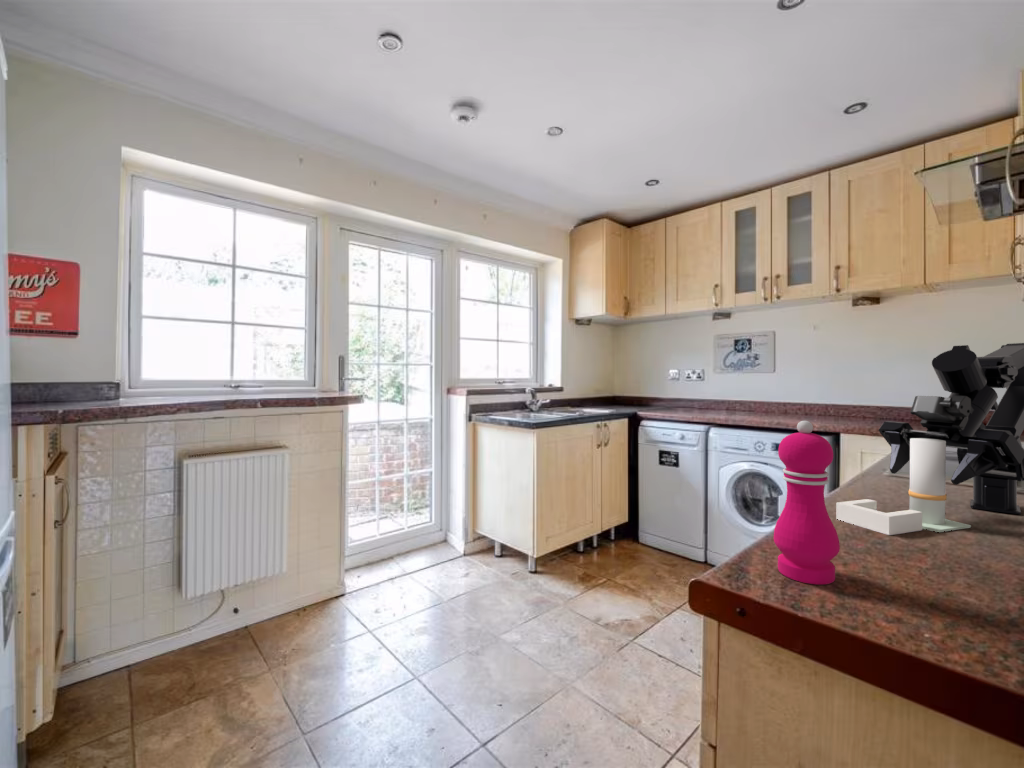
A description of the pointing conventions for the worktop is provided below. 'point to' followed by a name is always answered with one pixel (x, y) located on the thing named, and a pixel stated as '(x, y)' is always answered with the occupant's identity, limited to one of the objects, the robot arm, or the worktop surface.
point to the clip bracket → (878, 517)
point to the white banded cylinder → (928, 479)
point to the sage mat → (945, 526)
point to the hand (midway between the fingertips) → (920, 477)
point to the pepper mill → (806, 510)
